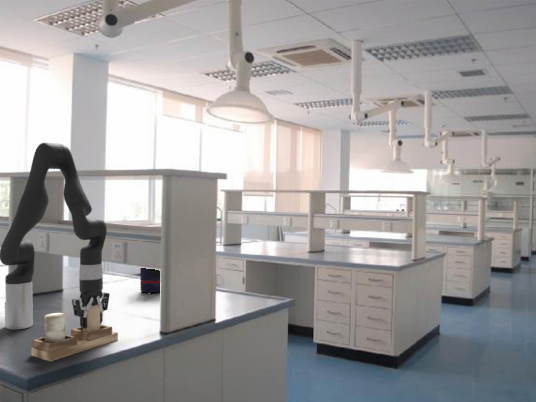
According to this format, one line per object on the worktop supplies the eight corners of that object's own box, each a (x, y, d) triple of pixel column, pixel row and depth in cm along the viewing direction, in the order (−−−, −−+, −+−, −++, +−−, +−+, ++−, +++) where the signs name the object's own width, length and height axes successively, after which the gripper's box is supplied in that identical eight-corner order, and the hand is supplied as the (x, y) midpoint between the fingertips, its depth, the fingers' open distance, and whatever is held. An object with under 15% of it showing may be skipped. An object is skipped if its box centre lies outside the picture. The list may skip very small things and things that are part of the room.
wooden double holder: (31, 355, 156) (30, 316, 156) (99, 335, 178) (98, 300, 178) (50, 361, 151) (50, 320, 151) (117, 339, 173) (117, 304, 173)
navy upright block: (168, 292, 253) (168, 233, 253) (147, 295, 245) (147, 235, 245) (155, 288, 264) (154, 232, 263) (134, 291, 256) (134, 233, 255)
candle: (92, 336, 166) (92, 306, 166) (79, 334, 168) (79, 305, 168) (103, 331, 171) (103, 303, 171) (90, 329, 173) (90, 301, 173)
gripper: (101, 272, 177) (101, 319, 178) (65, 279, 165) (66, 329, 166) (115, 274, 173) (115, 322, 174) (80, 281, 161) (80, 332, 162)
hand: (91, 325), depth 170 cm, fingers closed on candle, 5 cm apart
